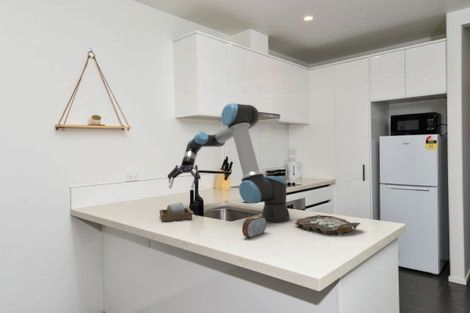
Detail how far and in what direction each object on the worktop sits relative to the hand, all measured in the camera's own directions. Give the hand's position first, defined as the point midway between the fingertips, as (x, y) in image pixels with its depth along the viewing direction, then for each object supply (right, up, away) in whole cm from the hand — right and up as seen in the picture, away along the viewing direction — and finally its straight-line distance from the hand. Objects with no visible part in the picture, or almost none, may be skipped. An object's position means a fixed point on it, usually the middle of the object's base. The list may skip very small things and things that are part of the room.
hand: (180, 187), depth 193 cm
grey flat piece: (+73, -16, -37) cm, 84 cm away
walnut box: (-1, -16, -9) cm, 19 cm away
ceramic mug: (0, -16, -10) cm, 19 cm away
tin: (+40, -17, -48) cm, 65 cm away
